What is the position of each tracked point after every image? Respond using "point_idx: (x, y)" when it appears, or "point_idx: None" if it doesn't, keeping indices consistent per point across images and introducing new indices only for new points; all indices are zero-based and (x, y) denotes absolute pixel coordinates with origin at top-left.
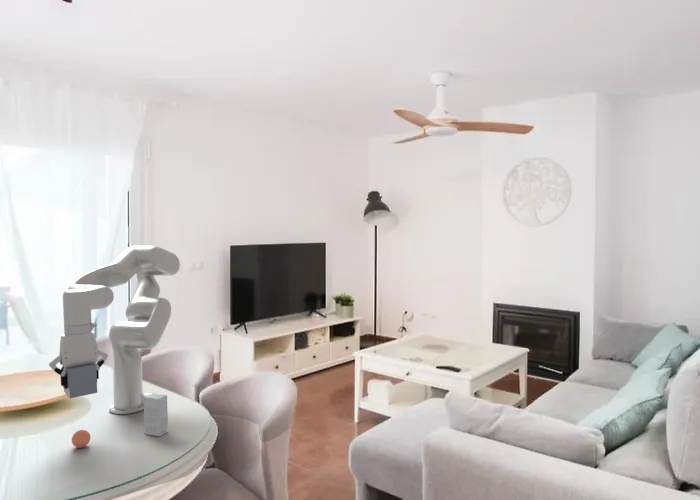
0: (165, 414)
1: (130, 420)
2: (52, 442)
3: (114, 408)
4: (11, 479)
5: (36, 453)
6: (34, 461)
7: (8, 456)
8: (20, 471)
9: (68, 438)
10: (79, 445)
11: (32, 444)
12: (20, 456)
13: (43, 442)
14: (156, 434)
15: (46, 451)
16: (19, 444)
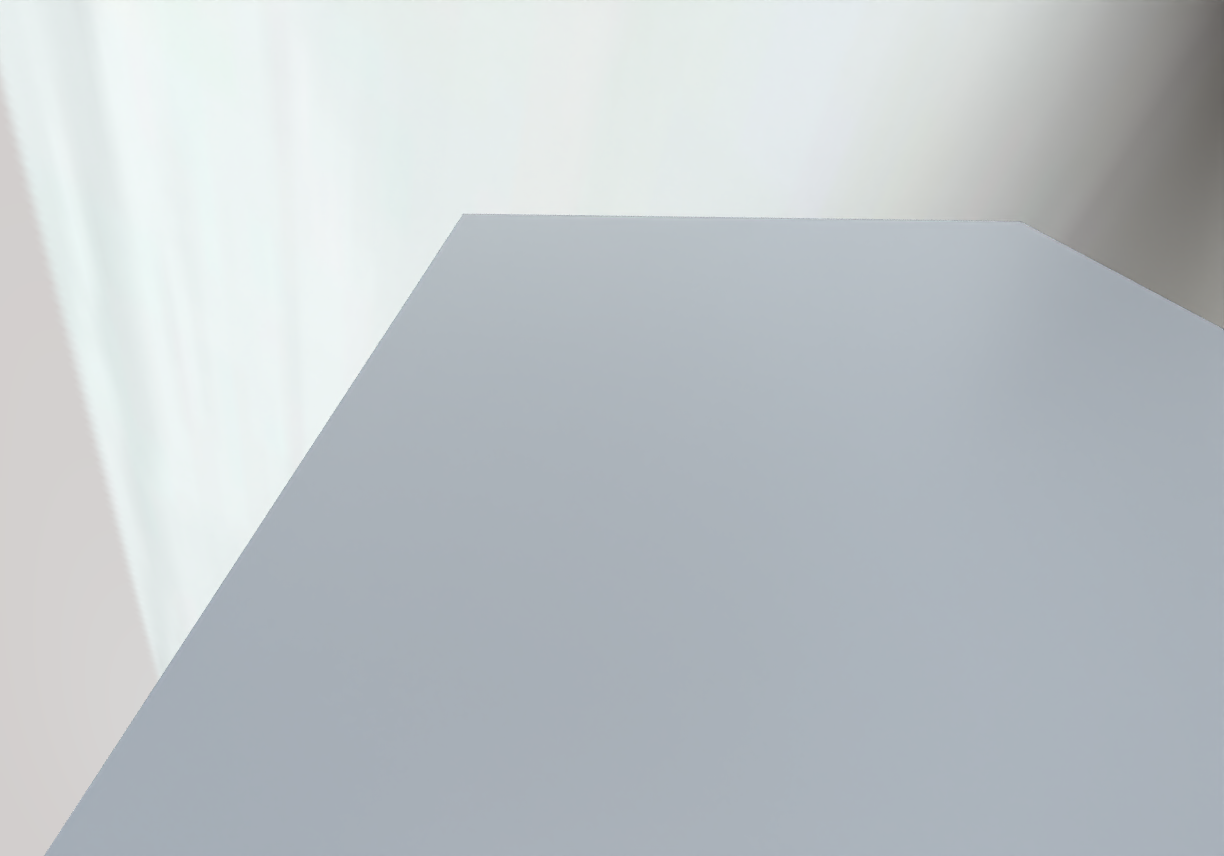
0: None
1: (1154, 122)
2: (410, 208)
3: None
4: (174, 625)
5: (287, 360)
6: (281, 482)
7: (76, 282)
8: (209, 565)
9: (544, 205)
10: None
11: (241, 133)
12: (173, 341)
13: (336, 151)
14: None
15: (357, 369)
16: (115, 40)
